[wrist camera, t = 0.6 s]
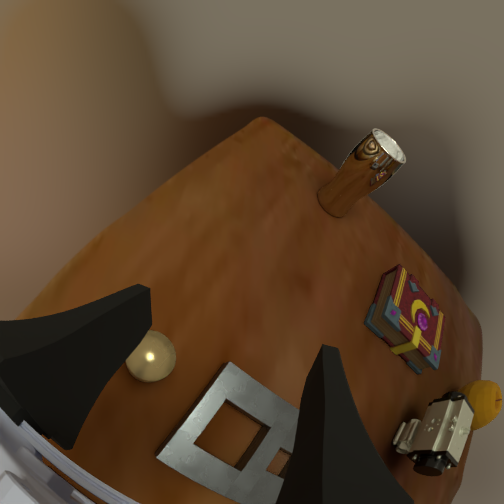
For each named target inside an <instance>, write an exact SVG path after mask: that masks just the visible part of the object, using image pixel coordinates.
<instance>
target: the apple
mask: <svg viewBox="0 0 504 504" xmlns="http://www.w3.org/2000/svg"><path fill="white" fill-rule="evenodd" d="M457 392H461V393H463V394H465V395H466V396H467V399H468V401H469V403H470V404H471V406H472V408H473V409H474V415H473V419H472V423H471V426H470V430H477V429H479V428H482V427H483V426H485V425H487V424H488V423H490V422H491V421H492V420H493V419H494V418H496V416H497V415H498V413H499V412H500V410H501V406H502V395H501V390H500V387H499V386H498V385H497V383H494V382H492V381H485V380H477V381H474V382H471V383H469V384H467V385H465V386H464V387H462V388H461V389H460V390H458V391H457Z"/></svg>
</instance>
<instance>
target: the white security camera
mask: <svg viewBox="0 0 504 504" xmlns="http://www.w3.org/2000/svg"><path fill="white" fill-rule="evenodd" d="M473 415H474V409H473V408H472V406H471V404H470V403H469V401H468V399H467V396H466V395H465V394H463V393H461V392H448V393H446V394H444V395H443V396H442V398H439V399H434V400H433V402H431V403H429V405H428V408H427V411H426V413H425V416H424V418H423V421H422V422H421V421H420V420H418V419H411V420H410V421H409V422H408V423H407V424H406V423H405V422H403V423H401V424H400V427H399V429H398V431H397V433H396V435H395V437H394V439H393V441H392V442H393V443H392V444H393V445H397V447H396V451H397V452H399V453H401V454H407V457H408V458H409V459H411V460H412V461H413V462H414V463H415V465H414V467H413V470H414V471H415V472H417V473H419V474H422V475H426V476H439V475H441V474H442V473H443V471H444V469H445V467H446V469H450V467H457V464H458V462H459V459H460V456H461V454H462V451H463V448H464V445H465V442H466V439H467V436H468V434H469V431H470V426H471V423H472V419H473Z"/></svg>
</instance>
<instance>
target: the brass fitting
mask: <svg viewBox="0 0 504 504" xmlns="http://www.w3.org/2000/svg"><path fill="white" fill-rule="evenodd" d="M175 362H176V353H175V349H174V347H173V345H172V343H171V342H170V340H169V339H168V338H167V337H166V336H164V335H163V334H161V333H159V332H157V331H152V330H148V332H147V334H146V335H145V337H144V338H143V340H142V341H141V343H140V344H139V345H138V346H137V348H136V349H135V350H134V351H133V352H132V354H131V355H130V356H129V357H128V358H127V359H126V365H127V368H128V371H129V372H130V374H131V375H132V376H133V377H134V378H135V379H137V380H139V381H141V382H146V383H150V382H155V381H158V380H161V379H163V378H165V377H166V376H168V375H169V374H170V373H171V371H172V370H173V368H174V366H175Z"/></svg>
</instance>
